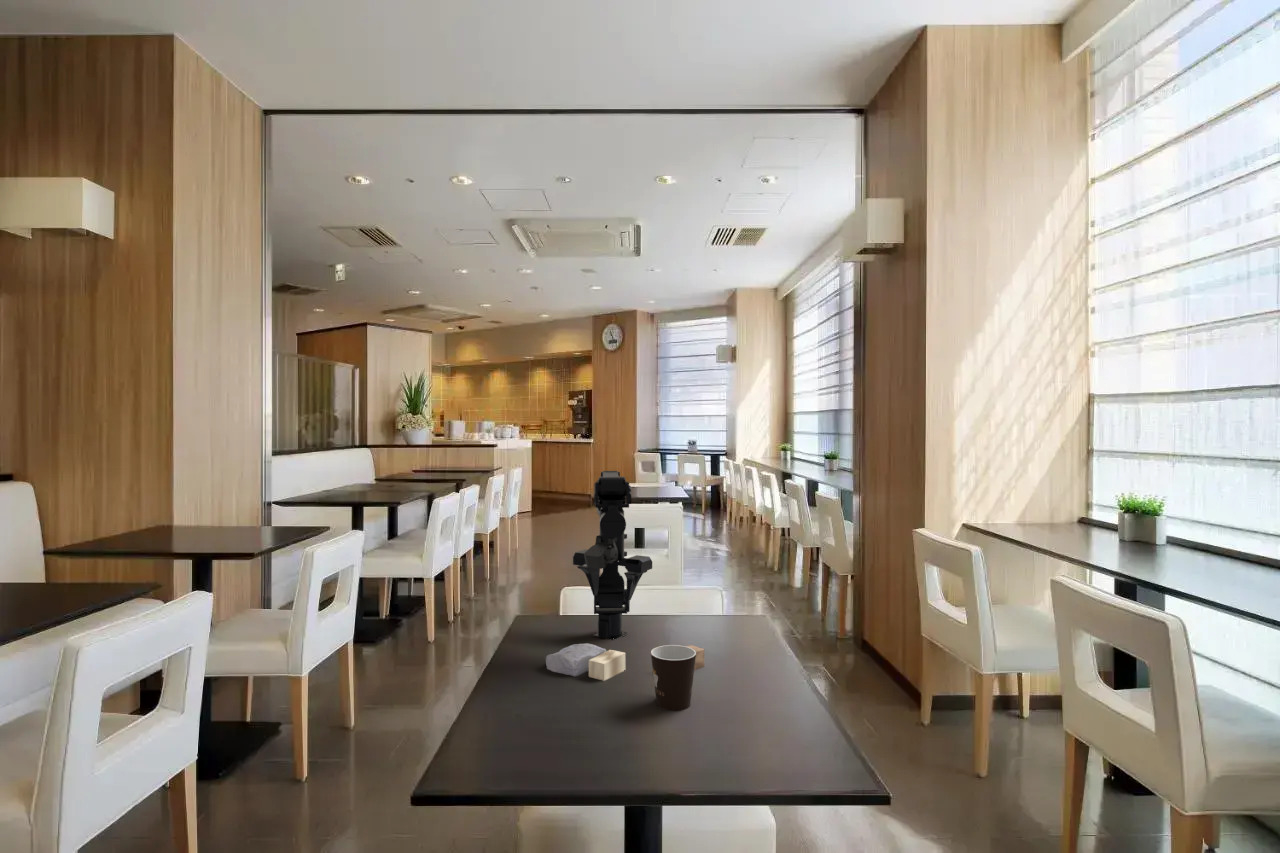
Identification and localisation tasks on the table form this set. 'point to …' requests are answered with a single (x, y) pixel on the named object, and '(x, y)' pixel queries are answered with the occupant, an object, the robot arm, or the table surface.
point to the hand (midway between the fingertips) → (611, 597)
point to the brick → (698, 657)
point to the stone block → (573, 659)
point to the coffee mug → (673, 676)
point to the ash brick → (607, 665)
